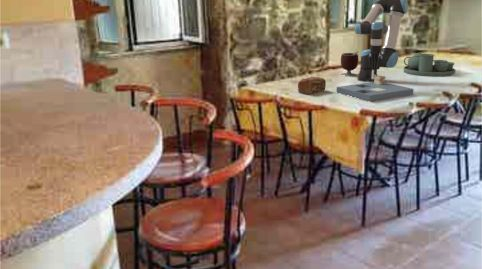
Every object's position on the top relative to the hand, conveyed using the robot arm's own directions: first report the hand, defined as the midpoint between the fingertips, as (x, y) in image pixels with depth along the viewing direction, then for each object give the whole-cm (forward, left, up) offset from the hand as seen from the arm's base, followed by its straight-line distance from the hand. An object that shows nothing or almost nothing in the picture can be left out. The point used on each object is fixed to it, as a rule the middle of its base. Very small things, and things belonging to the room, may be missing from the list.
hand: (373, 78), depth 336 cm
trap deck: (+13, +15, -7) cm, 20 cm away
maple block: (0, +6, -3) cm, 6 cm away
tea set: (-83, -23, -7) cm, 87 cm away
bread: (+44, -14, -7) cm, 46 cm away
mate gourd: (-20, -48, -7) cm, 53 cm away
